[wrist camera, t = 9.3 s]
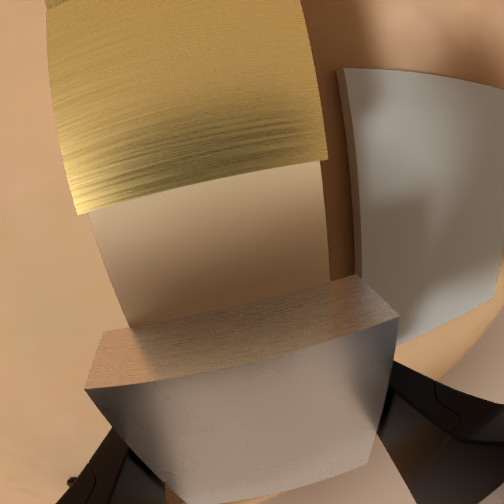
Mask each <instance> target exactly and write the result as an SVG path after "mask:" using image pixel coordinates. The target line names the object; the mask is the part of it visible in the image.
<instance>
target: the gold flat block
mask: <svg viewBox="0 0 504 504" xmlns="http://www.w3.org/2000/svg"><path fill="white" fill-rule="evenodd" d="M45 3H46V7H47V11H46V34H47V55H48V68H49V78H50V87H51V95H52V103H53V109H54V116H55V122H56V127H57V133H58V138H59V143H60V148H61V153H62V157H63V162H64V166H65V170H66V174H67V178H68V182H69V186H70V190H71V194H72V197H73V201H74V204H75V208H76V211H77V214H78V215H80V214H84V213H87V212H90V211H94V210H97V209H100V208H104V207H107V206H111V205H114V204H118V203H121V202H125V201H128V200H132V199H136V198H139V197H143V196H147V195H151V194H155V193H159V192H163V191H167V190H171V189H175V188H179V187H183V186H188V185H192V184H197V183H201V182H206V181H210V180H215V179H219V178H224V177H229V176H234V175H239V174H244V173H249V172H255V171H260V170H266V169H271V168H277V167H283V166H289V165H295V164H301V163H308V162H315V161H322V160H328V152H327V144H326V136H325V128H324V121H323V114H322V108H321V101H320V95H319V89H318V83H317V77H316V72H315V66H314V61H313V56H312V51H311V46H310V41H309V36H308V32H307V27H306V23H305V18H304V14H303V10H302V6H301V2H300V0H45Z"/></svg>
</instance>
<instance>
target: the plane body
mask: <svg viewBox="0 0 504 504" xmlns="http://www.w3.org/2000/svg"><path fill="white" fill-rule="evenodd" d="M87 213H88V216H89V220H90V223H91V226H92V229H93V232H94V236H95V239H96V242H97V245H98V248H99V251H100V253H101V256H102V259H103V262H104V265H105V267H106V270H107V273H108V275H109V278H110V281H111V283H112V286H113V288H114V291H115V293H116V296H117V298H118V301H119V303H120V306H121V308H122V310H123V313H124V315H125V317H126V320H127V322H128V324H129V326H130V327H135V326H140V325H146V324H151V323H156V322H161V321H166V320H171V319H176V318H180V317H185V316H190V315H195V314H199V313H204V312H208V311H213V310H217V309H222V308H226V307H231V306H235V305H239V304H244V303H248V302H252V301H256V300H260V299H264V298H269V297H273V296H277V295H281V294H285V293H289V292H292V291H296V290H300V289H304V288H308V287H312V286H316V285H319V284H323V283H327V282H330V270H329V254H328V240H327V227H326V215H325V204H324V194H323V185H322V176H321V167H320V161H315V162H308V163H301V164H295V165H289V166H283V167H277V168H271V169H266V170H260V171H255V172H249V173H244V174H239V175H234V176H229V177H224V178H219V179H215V180H210V181H206V182H201V183H197V184H192V185H188V186H183V187H179V188H175V189H171V190H167V191H163V192H159V193H155V194H151V195H147V196H143V197H139V198H136V199H132V200H128V201H125V202H121V203H118V204H114V205H111V206H107V207H104V208H100V209H97V210H94V211H90V212H87Z"/></svg>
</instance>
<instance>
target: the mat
mask: <svg viewBox="0 0 504 504" xmlns="http://www.w3.org/2000/svg"><path fill="white" fill-rule="evenodd" d="M336 75H337V81H338V87H339V93H340V99H341V105H342V112H343V119H344V126H345V134H346V142H347V151H348V161H349V171H350V182H351V195H352V210H353V228H354V257H355V275H356V274H357V275H358V276H359V277H360V278H361V279H362V280H363V281H364V282H365V283H366V284H367V285H369V286H370V287H371V288H372V289H373V290H374V291H375V292H376V293H377V294H378V295H379V296H380V297H381V298H382V299H383V300H384V301H385V302H386V303H387V304H388V305H389V306H390V307H391V308H392V309H393V310H394V311H395V312H396V313H398V314H399V315H400V319H399V327H398V334H397V340H396V346H397V345H399V344H402V343H404V342H406V341H409V340H411V339H413V338H416V337H418V336H420V335H422V334H424V333H427V332H429V331H431V330H433V329H435V328H437V327H439V326H441V325H443V324H445V323H447V322H449V321H451V320H453V319H455V318H457V317H459V316H461V315H463V314H465V313H467V312H469V311H471V310H472V309H474V308H476V307H478V306H480V305H482V304H483V303H485V302H487V301H489V300H490V299H492V298H493V295H494V291H495V287H496V282H497V278H498V273H499V268H500V263H501V258H502V252H503V246H504V89H500V88H496V87H492V86H488V85H484V84H480V83H476V82H471V81H466V80H461V79H456V78H450V77H445V76H438V75H432V74H424V73H416V72H408V71H397V70H385V69H367V68H342V69H339V70H337V71H336Z"/></svg>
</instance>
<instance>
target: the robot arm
mask: <svg viewBox="0 0 504 504" xmlns="http://www.w3.org/2000/svg"><path fill="white" fill-rule="evenodd" d="M376 433H377V434H378V436H379V438H380V440H381V441H382V443H383V445H384V447H385V448H386V450H387V452H388V453H389V455H390V457H391V459H392V460H393V462H394V464H395V466H396V467H397V469H398V471H399V473H400V474H401V476H402V478H403V480H404V481H405V483H406V485H407V487H408V489H409V490H411V491H410V492H411V494H412V496H413V498H414V499H415V501H416V503H417V504H504V404H497V403H493V402H490V401H487V400H484V399H481V398H478V397H475V396H472V395H469V394H466V393H463V392H460V391H458V390H455V389H453V388H450V387H448V386H446V385H444V384H442V383H439V382H437V381H434V380H433V379H431V378H429V377H427V376H425V375H423V374H420V373H418V372H416V371H414V370H412V369H410V368H408V367H406V366H404V365H402V364H400V363H398V362H396V361H394V360H393V364H392V369H391V374H390V379H389V384H388V388H387V393H386V397H385V401H384V406H383V410H382V414H381V417H380V421H379V425H378V429H377V432H376ZM67 485H68V486H69V487H70V488H69V489H68V490H67V491H66V492H65V494H64V495H63V496H62V497H61V498H60V499H59V500H58V502H57V503H56V504H166V498H165V483H164V482H163V481H162V480H161V479H160V478H159V477H158V476H157V475H156V474H155V473H154V472H153V471H152V470H151V469H150V468H149V467H148V466H147V465H146V464H145V463H144V462H143V461H142V460H141V459H140V458H139V457H138V456H137V455H136V454H135V452H134V451H133V450H132V449H131V448H130V447H129V446H128V445H127V443H126V442H125V441H124V440H123V439H122V438H121V436H120V435H119V434H118V433H117V432H116V430H115V429H114V428H113V427H112V428H111V430H110V431H109V433H108V434H107V436H106V437H105V439H104V440H103V442H102V443H101V444H100V446H99V447H98V449H97V450H96V452H95V453H94V455H93V456H92V458H91V459H90V460H89V463H87V465H86V466H85V468H84V469H83V471H82V472H81V473H80V475H79V476H78V478H77V479H76V480H71V479H68V480H67Z"/></svg>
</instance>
